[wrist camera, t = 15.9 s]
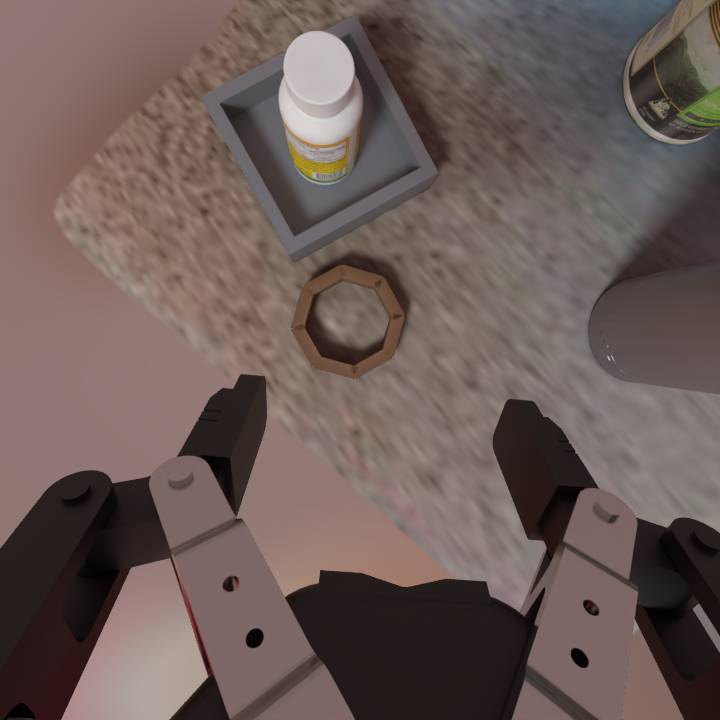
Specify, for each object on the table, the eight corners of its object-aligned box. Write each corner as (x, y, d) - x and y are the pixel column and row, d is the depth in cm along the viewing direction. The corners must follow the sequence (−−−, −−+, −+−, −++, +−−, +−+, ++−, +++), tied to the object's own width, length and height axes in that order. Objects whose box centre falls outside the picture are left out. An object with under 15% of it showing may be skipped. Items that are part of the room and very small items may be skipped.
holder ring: (367, 253, 32) (368, 248, 31) (416, 342, 33) (420, 342, 31) (277, 302, 32) (274, 301, 30) (328, 392, 33) (328, 394, 31)
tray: (353, 45, 31) (355, 14, 28) (429, 188, 32) (438, 172, 29) (213, 120, 31) (200, 97, 28) (294, 263, 32) (289, 255, 29)
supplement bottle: (329, 200, 31) (325, 137, 21) (277, 156, 31) (249, 72, 21) (371, 149, 31) (386, 63, 21) (319, 104, 31) (311, -4, 21)
